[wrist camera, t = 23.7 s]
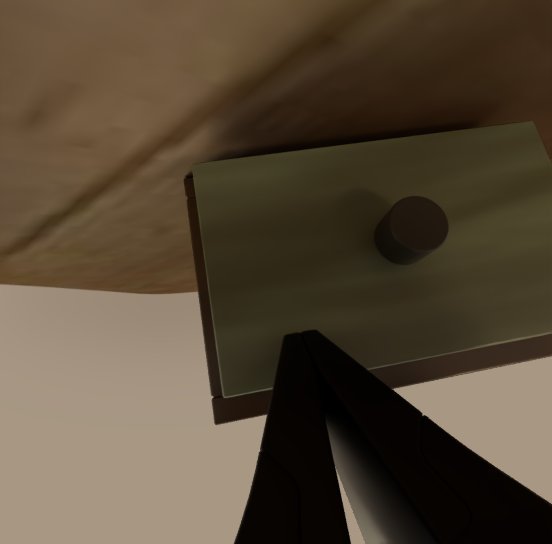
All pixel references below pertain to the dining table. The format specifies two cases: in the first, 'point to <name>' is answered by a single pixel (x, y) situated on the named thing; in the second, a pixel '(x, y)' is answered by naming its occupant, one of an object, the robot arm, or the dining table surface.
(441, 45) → the dining table surface
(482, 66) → the dining table surface
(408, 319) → the drawer
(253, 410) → the cabinet
